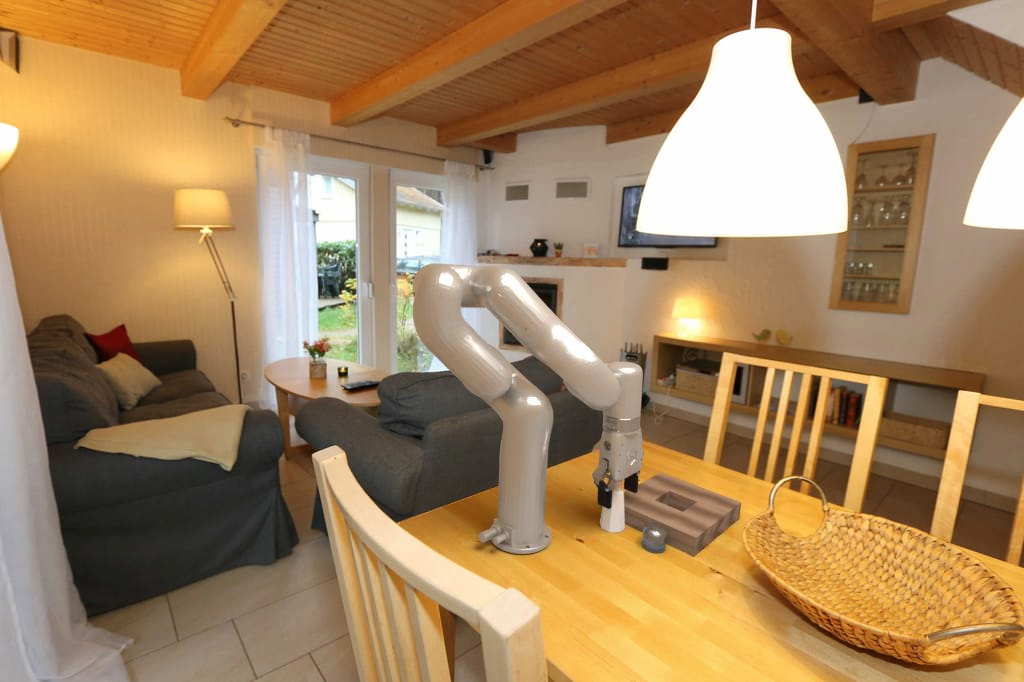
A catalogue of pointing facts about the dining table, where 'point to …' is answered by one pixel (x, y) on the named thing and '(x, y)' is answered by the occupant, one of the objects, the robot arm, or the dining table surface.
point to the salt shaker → (614, 511)
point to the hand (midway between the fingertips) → (617, 498)
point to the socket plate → (680, 511)
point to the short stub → (654, 538)
